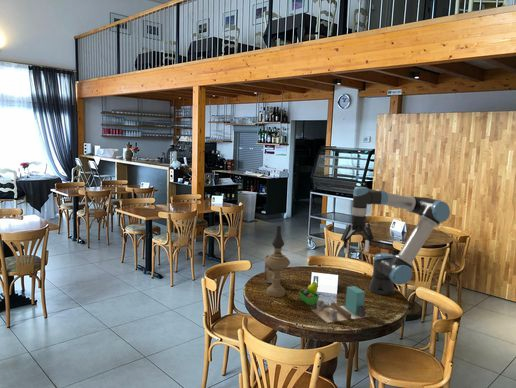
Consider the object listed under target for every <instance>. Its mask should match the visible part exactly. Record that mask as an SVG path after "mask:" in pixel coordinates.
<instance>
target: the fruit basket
mask: <svg viewBox="0 0 516 388" xmlns="http://www.w3.org/2000/svg"><path fill="white" fill-rule="evenodd" d="M318 287H319V285H318V282H316V281H313V282H312V283H311V284H309V285H308V286H307V289H301V290H300V289H299V291H298V292H299V296H300V300H301V301H302V302H304V304H306V305H308V306H309V305H317V301H318V300H319V298H320V295H319V294H317V292H318Z"/></svg>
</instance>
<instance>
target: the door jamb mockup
mask: <svg viewBox="0 0 516 388" xmlns="http://www.w3.org/2000/svg"><path fill="white" fill-rule="evenodd" d="M343 298H344V299H343V305H339V304H337V303H336V302H330V307H329V306H328V307H325V300H323V299H320V300H319V299H318V301H317V304H316V308H314V309H311V311H312V312H313V313H314V314H315V315H317V316H318V317H320V319H322V320H323V321H324V322H325V323H327V324H328V323H335V322H341V321H348V320H355V319H361V318H371V315H370V314H369V313H366V310H367V308H366V306H365V305H364V306H359V308H358V315H354V314H353V313H352V312H350V311H349V310H347V309H346V296H345V297H343Z"/></svg>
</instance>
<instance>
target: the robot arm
mask: <svg viewBox="0 0 516 388" xmlns="http://www.w3.org/2000/svg"><path fill="white" fill-rule="evenodd" d="M352 195H353V197H352V210H351V211H352V212H351V214H352V215H351V223H347V224H346V225H345V226H346V227H345V229H344V232H343V233H342V236H341V237H340V241H342V242H343V245H342V246H343V253H344V254H346V255H348V254H349V247H350V246H349V244H350V242H349V241H350V239H351V238H352V237H353V235H354V234H356V233H361V234H362V235H363V236H364V238H365V240H364V249H363V250H364V252H365V253H369V252H370V251H369V250H370V249H369V248H370V246H371V242H372V240H374V235H373V232H372V230H371V224H370V223H368V222H367V216H366V215H367V210H368V207H367V206H368V205H382V206H387V207H393V208H398V209H402V210H406V211H407V212H409V213H413V214H415V215H419V216H418V217H419V220H418V222H417V224H416V225H415V227H414V228H413V230H412V232H411V234H410V235H409V236H408V238H407V240H406V241H405V243H404V244H403V246H402V248H401V250H400V251H399V252H398V254H395V255H394V254H392V253H376V254H374V257H373V267H372V268H373V269H372V278H371V281H370V283H369V286H368V289H369V290H368V291H370V292H371V293H373V294H377V295H382V296H391V295H393V294H395V293H396V292H395V291H396V289H395V285H394V283H395V284H398V285H404V284H407V283H408V282H410V280H411V279H412V277H413V270H412V269H413V267H414V265H413V262H414V260H415V259H416V257H417V256H418V254H419V253H420V252H421V251H420V250H421V249H422V247H423V245H424V244H425V243H426V240H427V239H428V237H429V236H430V235H431V233H432V231H433V229H434V228H436V227H437V228H438V227H439V225H440V224H441V223H443V222H446V221H448V219H449V217H450V215H451V210H450V206H449V205H448V203H447V202H445V201H443V200H441V199H435V198H431V197H425V196H424V197H421V196H413V195H410V196H405V195H399V194H395V193H390V192H387V191H385V190H377V189H372V188H368V187H365V186H355V187H354V189H353V193H352Z"/></svg>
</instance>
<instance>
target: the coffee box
mask: <svg viewBox="0 0 516 388" xmlns="http://www.w3.org/2000/svg"><path fill="white" fill-rule="evenodd" d="M269 255H270V254H269ZM269 255H268V254H267V255H266V256H265V258H264V260H265V259H266V258H267V257H268V256H269ZM279 274H280V275H281V271H280V272H279ZM273 275H274V270H273V269H272V268H270V267H268V266H267V265H266V264H265V263H264V278H263V279H264V280H263V281H264V283H268V284H272V279H271V277H272V276H273Z"/></svg>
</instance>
